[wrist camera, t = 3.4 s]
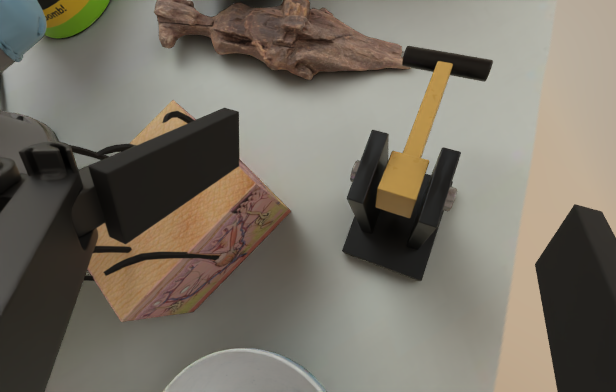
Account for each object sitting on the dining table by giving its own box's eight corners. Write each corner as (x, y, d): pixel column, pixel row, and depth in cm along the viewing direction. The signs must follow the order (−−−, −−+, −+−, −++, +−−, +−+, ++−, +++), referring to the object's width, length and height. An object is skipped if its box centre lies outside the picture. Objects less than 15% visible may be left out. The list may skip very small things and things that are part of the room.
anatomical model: (226, 140, 37) (126, 50, 22) (295, 209, 33) (226, 151, 19) (124, 244, 36) (-44, 217, 22) (182, 325, 32) (24, 355, 18)
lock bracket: (375, 163, 32) (368, 91, 20) (450, 185, 30) (492, 118, 18) (343, 252, 31) (315, 231, 19) (420, 281, 29) (444, 277, 17)
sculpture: (399, 101, 33) (401, 77, 29) (160, 53, 42) (137, 30, 38) (426, 21, 35) (430, -12, 31) (190, -9, 43) (171, -38, 40)
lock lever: (405, 62, 27) (409, 35, 25) (485, 77, 25) (497, 49, 23) (346, 198, 21) (345, 178, 19) (442, 229, 20) (452, 211, 18)
